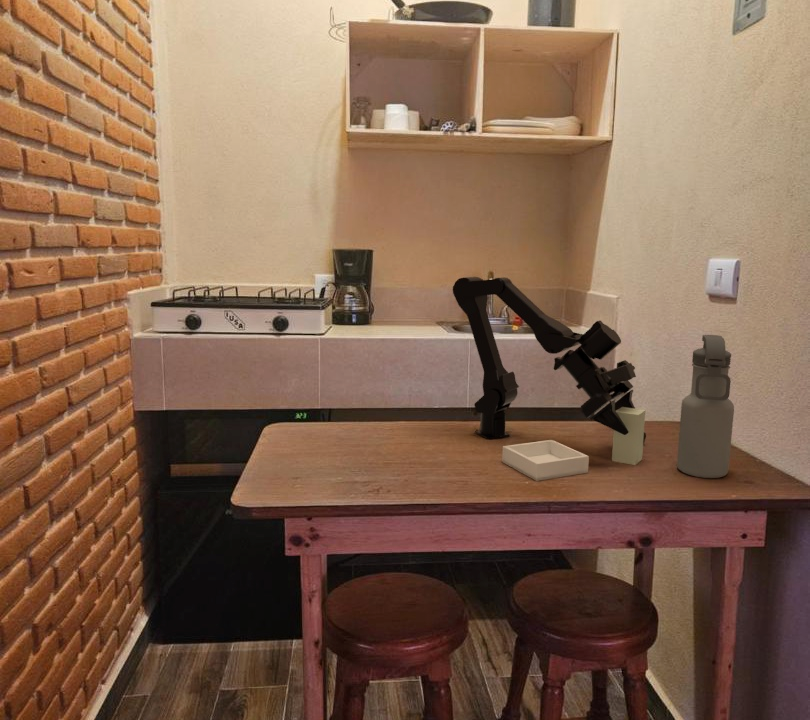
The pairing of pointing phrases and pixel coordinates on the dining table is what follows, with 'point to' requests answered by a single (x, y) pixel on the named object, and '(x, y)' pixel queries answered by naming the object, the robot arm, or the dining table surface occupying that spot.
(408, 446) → the dining table surface
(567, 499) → the dining table surface
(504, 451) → the box
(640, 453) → the pale green tall block
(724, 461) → the water bottle
